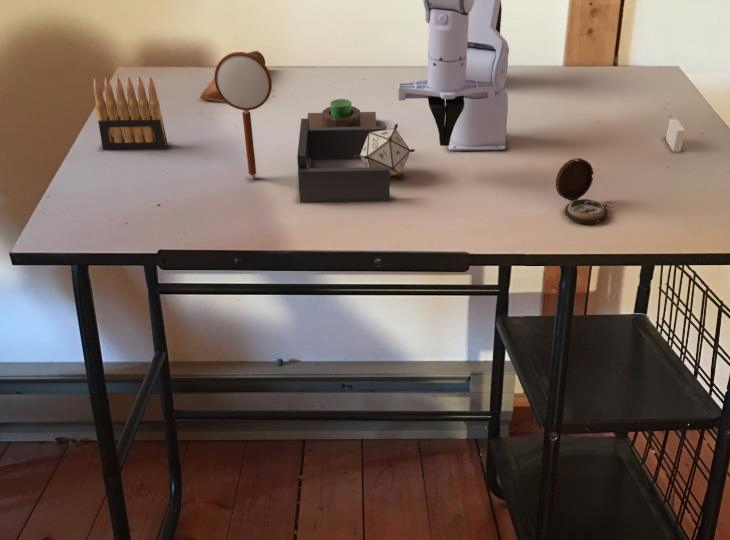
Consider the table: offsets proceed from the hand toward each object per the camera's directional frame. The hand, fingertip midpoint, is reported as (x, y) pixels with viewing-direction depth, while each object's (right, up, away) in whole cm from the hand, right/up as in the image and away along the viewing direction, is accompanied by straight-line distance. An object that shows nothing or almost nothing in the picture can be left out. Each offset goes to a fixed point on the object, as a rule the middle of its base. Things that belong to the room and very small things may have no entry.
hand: (444, 143), depth 145 cm
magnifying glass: (-30, -5, +3) cm, 31 cm away
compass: (+21, -12, -6) cm, 25 cm away
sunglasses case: (-38, +21, +35) cm, 56 cm away
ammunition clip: (-52, +3, +13) cm, 53 cm away
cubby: (-15, -5, +3) cm, 16 cm away
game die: (-9, -5, +3) cm, 11 cm away
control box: (-17, +7, +17) cm, 25 cm away
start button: (-17, +9, +15) cm, 24 cm away
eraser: (+39, +3, +12) cm, 41 cm away
